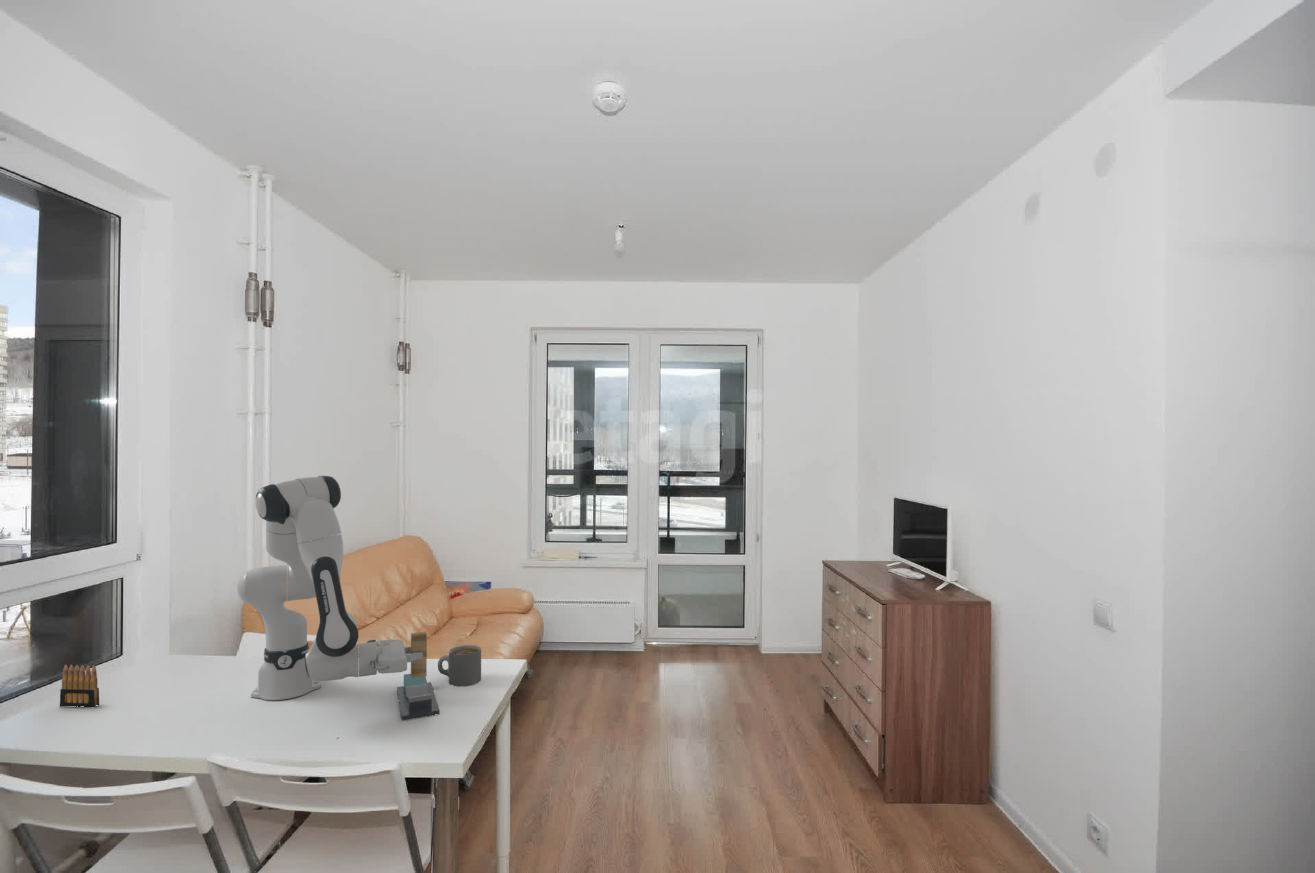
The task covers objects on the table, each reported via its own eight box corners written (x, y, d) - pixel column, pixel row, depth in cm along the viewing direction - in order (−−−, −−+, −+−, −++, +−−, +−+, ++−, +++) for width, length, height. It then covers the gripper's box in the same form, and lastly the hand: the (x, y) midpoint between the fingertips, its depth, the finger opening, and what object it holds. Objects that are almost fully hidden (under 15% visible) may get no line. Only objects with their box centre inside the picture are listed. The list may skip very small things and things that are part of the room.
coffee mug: (485, 675, 218) (485, 645, 218) (474, 687, 208) (474, 655, 208) (446, 674, 219) (446, 644, 219) (433, 685, 209) (433, 653, 209)
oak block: (410, 674, 192) (411, 633, 192) (425, 672, 194) (425, 631, 194) (411, 678, 189) (411, 636, 189) (426, 676, 191) (426, 634, 191)
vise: (396, 690, 205) (396, 677, 205) (430, 685, 209) (430, 672, 209) (401, 720, 183) (401, 705, 183) (439, 714, 187) (439, 699, 187)
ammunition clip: (59, 706, 192) (59, 665, 193) (65, 704, 194) (65, 663, 194) (93, 707, 192) (94, 666, 192) (99, 705, 194) (99, 664, 194)
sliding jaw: (403, 684, 206) (403, 674, 206) (424, 681, 209) (424, 671, 209) (406, 697, 195) (406, 687, 195) (427, 694, 198) (427, 684, 198)
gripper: (370, 658, 177) (425, 651, 183) (369, 638, 195) (419, 632, 201) (370, 682, 177) (425, 674, 182) (369, 659, 195) (419, 653, 201)
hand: (422, 652), depth 192 cm, fingers closed on oak block, 3 cm apart
